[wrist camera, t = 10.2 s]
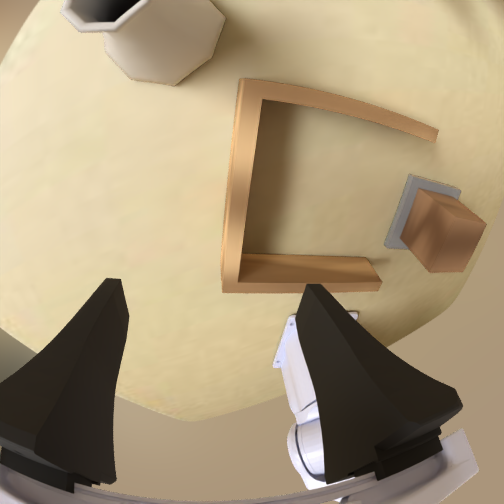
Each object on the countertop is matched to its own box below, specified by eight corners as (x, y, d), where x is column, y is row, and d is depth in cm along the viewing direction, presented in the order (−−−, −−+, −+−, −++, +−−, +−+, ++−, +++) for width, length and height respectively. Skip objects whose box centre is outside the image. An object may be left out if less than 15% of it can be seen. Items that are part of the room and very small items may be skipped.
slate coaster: (432, 247, 25) (435, 250, 24) (383, 244, 24) (386, 248, 23) (457, 187, 21) (461, 190, 20) (409, 173, 20) (413, 176, 19)
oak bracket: (361, 265, 25) (377, 291, 22) (220, 262, 23) (222, 292, 20) (409, 118, 17) (438, 130, 14) (239, 78, 15) (245, 78, 12)
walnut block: (434, 240, 24) (462, 271, 20) (399, 237, 23) (429, 272, 19) (452, 196, 21) (486, 223, 17) (418, 187, 20) (455, 217, 16)
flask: (153, -28, 9) (103, -100, 1) (246, 16, 12) (283, -47, 4) (89, 60, 12) (-13, 63, 4) (179, 104, 15) (137, 133, 7)
